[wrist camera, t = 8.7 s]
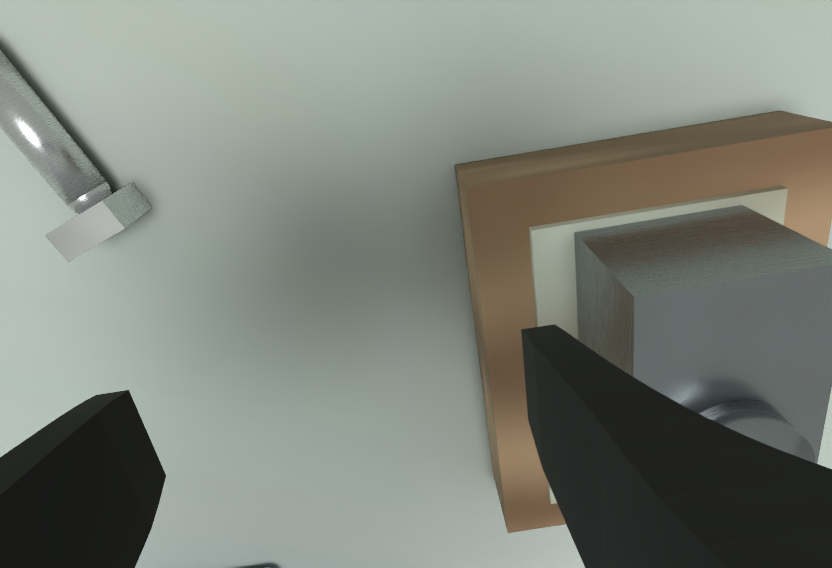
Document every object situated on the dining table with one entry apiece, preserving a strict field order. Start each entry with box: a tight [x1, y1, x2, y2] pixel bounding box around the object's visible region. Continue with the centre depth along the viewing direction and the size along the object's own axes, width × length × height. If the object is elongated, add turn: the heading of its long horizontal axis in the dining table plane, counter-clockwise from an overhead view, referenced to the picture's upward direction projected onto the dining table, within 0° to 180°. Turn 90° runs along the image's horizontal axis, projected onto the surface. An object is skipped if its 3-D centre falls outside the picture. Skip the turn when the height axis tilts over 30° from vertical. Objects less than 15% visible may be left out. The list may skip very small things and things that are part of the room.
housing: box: [574, 205, 832, 464], centre depth 16 cm, size 10×5×5 cm, turn 9°
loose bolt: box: [0, 50, 151, 262], centre depth 17 cm, size 7×2×2 cm, turn 29°
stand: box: [455, 111, 832, 533], centre depth 20 cm, size 14×11×3 cm
